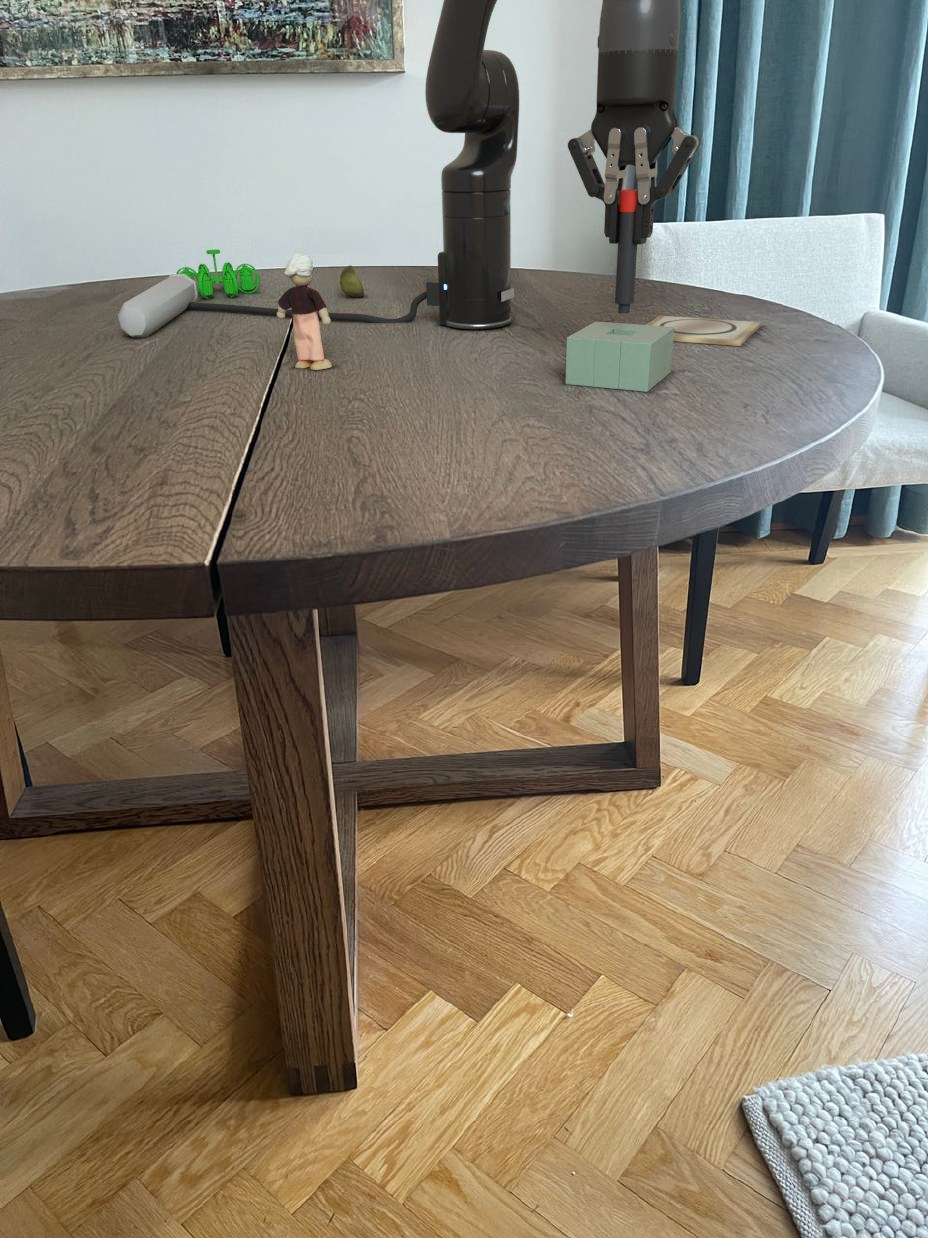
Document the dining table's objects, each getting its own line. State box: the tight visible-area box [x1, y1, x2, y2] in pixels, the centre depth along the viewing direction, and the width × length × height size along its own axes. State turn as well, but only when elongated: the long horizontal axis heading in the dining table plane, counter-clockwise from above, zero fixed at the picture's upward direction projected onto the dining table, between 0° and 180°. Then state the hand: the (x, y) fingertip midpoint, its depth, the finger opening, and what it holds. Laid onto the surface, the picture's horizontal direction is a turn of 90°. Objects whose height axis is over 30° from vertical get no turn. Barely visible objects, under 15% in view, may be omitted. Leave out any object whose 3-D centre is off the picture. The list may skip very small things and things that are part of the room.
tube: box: [117, 273, 199, 339], centre depth 137 cm, size 5×5×25 cm
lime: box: [339, 265, 365, 298], centre depth 152 cm, size 4×5×5 cm
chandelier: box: [175, 249, 261, 300], centre depth 159 cm, size 15×15×7 cm
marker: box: [614, 188, 639, 314], centre depth 97 cm, size 2×2×12 cm
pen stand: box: [565, 321, 674, 393], centre depth 102 cm, size 9×9×5 cm
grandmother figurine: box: [276, 253, 333, 371], centre depth 108 cm, size 8×4×13 cm, turn 71°
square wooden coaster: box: [645, 315, 762, 347], centre depth 123 cm, size 14×13×1 cm
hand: (627, 242), depth 97 cm, fingers closed on marker, 2 cm apart
